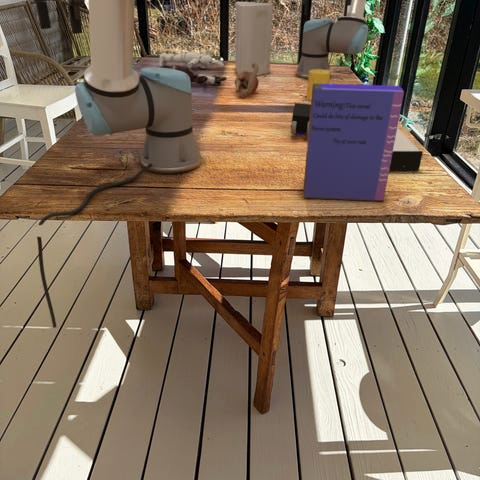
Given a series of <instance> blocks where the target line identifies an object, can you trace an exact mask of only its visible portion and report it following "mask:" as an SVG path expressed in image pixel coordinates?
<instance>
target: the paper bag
mask: <svg viewBox="0 0 480 480" xmlns="http://www.w3.org/2000/svg"><path fill="white" fill-rule="evenodd" d="M273 8H274V4H273V3H269V2H267V3H266V2H265V3H264V2H252V1H235V59H234V60H235V62H234V63H235V65H234V66H235V68H234V69H235V71H236V73H237V76H238V75H239V74H240V72H241V71H243V70H245V71H249V72H253V70H254V68H253V67H252V64H253V63H256V64H257V65H258V67H259V70H258V73H257V75H256V77H257V76H259V75H260V76H261V75H266V74H270V73H271V56H272V55H271V54H272V33H273V32H272V31H273V10H274V9H273Z"/></svg>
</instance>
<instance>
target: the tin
mask: <svg viewBox="0 0 480 480" xmlns="http://www.w3.org/2000/svg"><path fill="white" fill-rule="evenodd" d="M330 71H331V70H330ZM330 71H328V70H323V69H313V70H309V77H308V79H307V89H306V99H307V100H309V101H311V98H312V87H313V84H330V79H331V75H330Z"/></svg>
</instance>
